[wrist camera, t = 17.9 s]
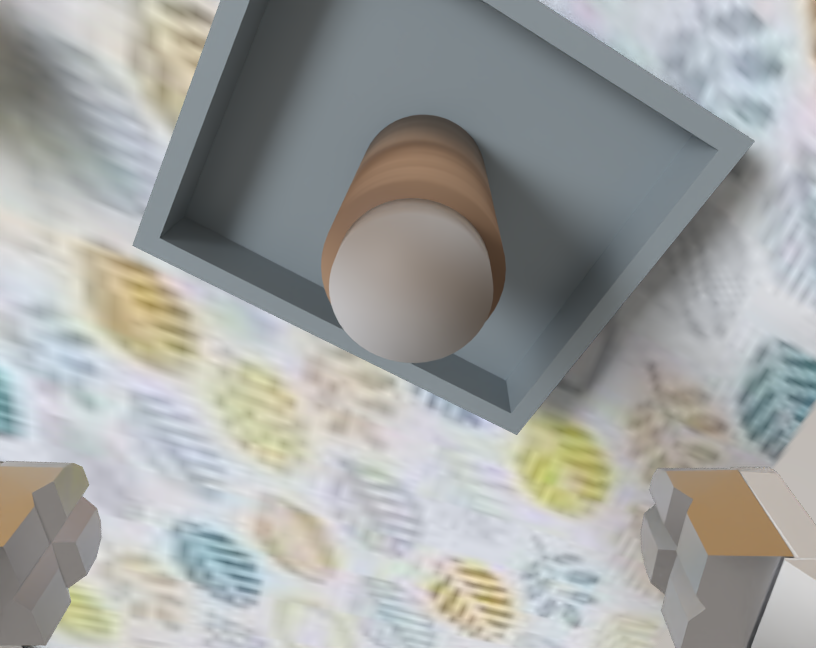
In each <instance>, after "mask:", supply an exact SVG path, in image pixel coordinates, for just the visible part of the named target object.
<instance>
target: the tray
mask: <svg viewBox="0 0 816 648" xmlns="http://www.w3.org/2000/svg"><path fill="white" fill-rule="evenodd" d="M412 115H434V116H439V117H442V118H445V119H448V120H450V121H452V122H454V123H456V124H457V125H459V126H460V127H461V128H463V129H464V130H465V131H466V132H467V133H468V134H469V135H470V136H471V137H472V138H473V140H474V141H475V143H476V144H477V146H478V148H479V150H480V151H481V154H482V157H483V160H484V164H485V169H486V173H487V178H488V182H489V187H490V191H491V196H492V200H493V205H494V209H495V214H496V218H497V223H498V227H499V232H500V236H501V241H502V245H503V250H504V255H505V262H506V275H505V283H504V288H503V292H502V294H501V297H500V300H499V302H498V304H497V306H496V308H495V310H494V311H493V313H492V314H491V315H490V317H489V318H488V320H487V321H486V322H485V323H484V325H483V327H482V328H481V330H480V331H479V332H478V334H477V335H476V336H475V337H474V338H473V339H472V340H471V341H470V342H469V343H468V344H467V345H465V346H464V347H463V348H461V349H460V350H458V351H456V352H455V353H453V354H451V355H448V356H446V357H444V358H441V359H438V360H434V361H429V362H421V363H404V362H397V361H392V360H388V359H385V358H382V357H380V356H377V355H375V354H373V353H371V352H369V351H367V350H366V349H364V348H363V347H361V346H360V345H358V344H357V343H356V342H355V341H354V340H353V339H351V337H350V336H349V335H348V334H347V333H346V332H345V331H344V329H343V328H342V326H341V325H340V324H339V322H338V320H337V318H336V316H335V314H334V311H333V308H332V305H331V303H330V301H329V299H328V297H327V294H326V291H325V289H324V285H323V280H322V272H321V259H322V252H323V247H324V243H325V240H326V237H327V235H328V232H329V230H330V228H331V226H332V224H333V222H334V219H335V217H336V215H337V213H338V211H339V209H340V207H341V204H342V202H343V200H344V198H345V196H346V194H347V192H348V189H349V187H350V185H351V183H352V181H353V179H354V177H355V174H356V172H357V170H358V168H359V166H360V164H361V162H362V159H363V157H364V155H365V153H366V151H367V149H368V147H369V145H370V143H371V142H372V141H373V139H374V138H375V137H376V136H377V134H378V133H379V132H380V131H381V130H383V129H384V128H385V127H386V126H388V125H389V124H391V123H393V122H394V121H397V120H399V119H401V118H404V117H408V116H412ZM754 142H755V141H754V140H753V139H751V138H749V137H748V136H746V135H745V134H743V133H742V132H740V131H739V130H737V129H736V128H734V127H732V126H731V125H729V124H728V123H726V122H725V121H723V120H722V119H720V118H719V117H717V116H715V115H714V114H712V113H711V112H709V111H708V110H706V109H705V108H703V107H702V106H700V105H698V104H697V103H695V102H694V101H692V100H691V99H689V98H688V97H686V96H685V95H683V94H681V93H680V92H678V91H677V90H675V89H674V88H672V87H671V86H669V85H668V84H666V83H664V82H663V81H661V80H660V79H658V78H657V77H655V76H654V75H652V74H651V73H649V72H647V71H646V70H644V69H643V68H641V67H640V66H638V65H637V64H635V63H634V62H632V61H630V60H629V59H627V58H626V57H624V56H623V55H621V54H620V53H618V52H617V51H615V50H614V49H612V48H610V47H609V46H607V45H606V44H604V43H603V42H601V41H600V40H598V39H597V38H595V37H593V36H592V35H590V34H589V33H587V32H586V31H584V30H583V29H581V28H580V27H578V26H576V25H575V24H573V23H572V22H570V21H569V20H567V19H566V18H564V17H563V16H561V15H559V14H558V13H556V12H555V11H553V10H552V9H550V8H549V7H547V6H546V5H544V4H542V3H541V2H539V1H538V0H220V3H219V6H218V9H217V12H216V14H215V17H214V20H213V23H212V26H211V28H210V31H209V34H208V37H207V39H206V42H205V45H204V48H203V51H202V53H201V56H200V59H199V62H198V65H197V67H196V70H195V73H194V76H193V78H192V81H191V84H190V87H189V90H188V92H187V95H186V98H185V101H184V104H183V106H182V109H181V112H180V115H179V117H178V120H177V123H176V126H175V129H174V131H173V134H172V137H171V140H170V143H169V145H168V148H167V151H166V154H165V156H164V159H163V162H162V165H161V168H160V170H159V173H158V176H157V179H156V182H155V184H154V187H153V190H152V193H151V195H150V198H149V201H148V204H147V207H146V209H145V212H144V215H143V218H142V220H141V223H140V226H139V229H138V232H137V234H136V237H135V240H134V243H133V246H134V247H136V248H138V249H140V250H142V251H144V252H147V253H149V254H151V255H153V256H155V257H157V258H159V259H161V260H163V261H165V262H167V263H169V264H171V265H173V266H175V267H177V268H179V269H181V270H183V271H185V272H187V273H189V274H191V275H193V276H195V277H197V278H199V279H201V280H203V281H205V282H207V283H209V284H211V285H213V286H216V287H218V288H220V289H222V290H224V291H226V292H228V293H230V294H232V295H234V296H236V297H238V298H240V299H242V300H244V301H246V302H248V303H250V304H252V305H254V306H256V307H258V308H260V309H262V310H264V311H266V312H268V313H270V314H272V315H274V316H276V317H278V318H280V319H282V320H285V321H287V322H289V323H291V324H293V325H295V326H297V327H299V328H301V329H303V330H305V331H307V332H309V333H311V334H313V335H315V336H317V337H319V338H321V339H323V340H325V341H327V342H329V343H331V344H333V345H335V346H337V347H339V348H341V349H343V350H345V351H347V352H349V353H351V354H353V355H356V356H358V357H360V358H362V359H364V360H366V361H368V362H370V363H372V364H374V365H376V366H378V367H380V368H382V369H384V370H386V371H388V372H390V373H392V374H394V375H396V376H398V377H400V378H402V379H404V380H406V381H408V382H410V383H412V384H414V385H416V386H418V387H420V388H422V389H425V390H427V391H429V392H431V393H433V394H435V395H437V396H439V397H441V398H443V399H445V400H447V401H449V402H451V403H453V404H455V405H457V406H459V407H461V408H463V409H465V410H467V411H469V412H471V413H473V414H475V415H477V416H479V417H481V418H483V419H485V420H487V421H489V422H491V423H493V424H496V425H498V426H500V427H502V428H504V429H506V430H508V431H510V432H512V433H514V434H516V435H517V434H518V433H519V432H520V430H521V429H522V428H523V427H524V425H525V424H526V423H527V422H528V420H529V419H530V418H531V417H532V416H533V414H534V413H535V412H536V411H537V409H538V408H539V407H540V406H541V404H542V403H543V402H544V401H545V400H546V398H547V397H548V396H549V395H550V393H551V392H552V391H553V390H554V388H555V387H556V386H557V385H558V383H559V382H560V381H561V380H562V379H563V377H564V376H565V375H566V374H567V372H568V371H569V370H570V369H571V367H572V366H573V365H574V364H575V362H576V361H577V360H578V359H579V358H580V356H581V355H582V354H583V353H584V351H585V350H586V349H587V348H588V346H589V345H590V344H591V343H592V341H593V340H594V339H595V338H596V337H597V335H598V334H599V333H600V332H601V330H602V329H603V328H604V327H605V325H606V324H607V323H608V322H609V321H610V319H611V318H612V317H613V316H614V314H615V313H616V312H617V311H618V309H619V308H620V307H621V306H622V304H623V303H624V302H625V301H626V300H627V298H628V297H629V296H630V295H631V293H632V292H633V291H634V290H635V288H636V287H637V286H638V285H639V283H640V282H641V281H642V280H643V279H644V277H645V276H646V275H647V274H648V272H649V271H650V270H651V269H652V267H653V266H654V265H655V264H656V263H657V261H658V260H659V259H660V258H661V256H662V255H663V254H664V253H665V251H666V250H667V249H668V248H669V246H670V245H671V244H672V243H673V242H674V240H675V239H676V238H677V237H678V235H679V234H680V233H681V232H682V230H683V229H684V228H685V227H686V225H687V224H688V223H689V222H690V221H691V219H692V218H693V217H694V216H695V214H696V213H697V212H698V211H699V209H700V208H701V207H702V206H703V205H704V203H705V202H706V201H707V200H708V198H709V197H710V196H711V195H712V193H713V192H714V191H715V190H716V188H717V187H718V186H719V185H720V184H721V182H722V181H723V180H724V179H725V177H726V176H727V175H728V174H729V172H730V171H731V170H732V169H733V167H734V166H735V165H736V164H737V163H738V161H739V160H740V159H741V158H742V156H743V155H744V154H745V153H746V151H747V150H748V149H749V148H750V146H751V145H752V144H753V143H754Z"/></svg>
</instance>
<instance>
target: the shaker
mask: <svg viewBox="0 0 816 648" xmlns="http://www.w3.org/2000/svg"><path fill="white" fill-rule="evenodd" d="M321 272H322V280H323V285H324V289H325V291H326V294H327V297H328V299H329V301H330V303H331V305H332V308H333V311H334V314H335V316H336V318H337V320H338V322H339V324H340V325H341V326H342V328H343V329H344V331H345V332H346V333H347V334H348V335H349V336H350V337H351V339H353V340H354V341H355V342H356V343H357V344H358V345H360V346H361V347H363V348H364V349H366V350H367V351H369V352H371V353H373V354H375V355H377V356H380V357H382V358H385V359H388V360H392V361H397V362H404V363H421V362H429V361H434V360H438V359H441V358H444V357H446V356H448V355H451V354H453V353H455V352H456V351H458V350H460V349H461V348H463V347H464V346H465V345H467V344H468V343H469V342H470V341H471V340H472V339H473V338H474V337H475V336H476V335H477V334H478V332H479V331H480V330H481V328H482V327H483V325H484V323H485V322H486V321H487V320H488V318H489V317H490V315H491V314H492V313H493V311H494V310H495V308H496V306H497V304H498V302H499V300H500V297H501V294H502V292H503V288H504V283H505V275H506V262H505V255H504V250H503V245H502V241H501V236H500V232H499V227H498V223H497V218H496V214H495V209H494V205H493V200H492V196H491V191H490V187H489V182H488V178H487V173H486V169H485V164H484V160H483V157H482V154H481V151H480V150H479V148H478V146H477V144H476V143H475V141H474V140H473V138H472V137H471V136H470V135H469V134H468V133H467V132H466V131H465V130H464V129H463V128H461V127H460V126H459V125H457V124H456V123H454V122H452V121H450V120H448V119H445V118H442V117H439V116H434V115H412V116H408V117H404V118H401V119H399V120H397V121H394V122H393V123H391V124H389V125H388V126H386V127H385V128H384V129H383V130H381V131H380V132H379V133H378V134H377V136H376V137H375V138H374V139H373V141H372V142H371V143H370V145H369V147H368V149H367V151H366V153H365V155H364V157H363V159H362V162H361V164H360V166H359V168H358V170H357V172H356V174H355V177H354V179H353V181H352V183H351V185H350V187H349V189H348V192H347V194H346V196H345V198H344V200H343V202H342V204H341V207H340V209H339V211H338V213H337V215H336V217H335V219H334V222H333V224H332V226H331V228H330V230H329V232H328V235H327V237H326V240H325V243H324V247H323V252H322V259H321Z"/></svg>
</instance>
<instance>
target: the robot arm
mask: <svg viewBox="0 0 816 648" xmlns="http://www.w3.org/2000/svg"><path fill="white" fill-rule="evenodd" d="M88 486H89V483H88V480H87V477H86V475H85V472H84V470H83V467H82V466H79V465H77V464H74V463H57V462H25V461H6V462H2V461H0V648H23V647H22V646H21V645H46V644H47V642H48V641H49V639H50V637H51V636H52V634H53V632H54V631H55V629H56V627H57V625H58V624H59V622H60V620H61V619H62V617H63V615H64V613H65V612H66V610H67V608H68V607H69V605H70V603H71V599H70V594H69V590H68V588H69V587H70V586H72V585H73V584H75V583H76V582H78V581H79V580H80V579H82V578H83V577H85V576H86V575H87V574H88V572H89V570H90V568H91V566H92V565H93V563H94V561H95V559H96V557H97V553H98V549H99V545H100V541H101V520H100V517H99V514H98V510H97V508H96V507H95V506H94V505H92V504H91V503H90V502H89V501H88V500H86V499H85V498H84V497H83V494H84V493H85V491H86V489H87V488H88ZM649 491H650V493H651V495H652V498H653V500H654V502H655V505H654V506H652V507H651V508H650V509H649V510H648V511H647V512H646V513H644V517H643V522H642V528H641V551H642V556H643V560H644V565H645V568H646V571H647V574H648V577H649V580H650V582H651V583H652V584H653V585H654V586H655V587H657V588H658V589H659V590H660V591H661V592H663V593H664V594H665V597H664V601H663V605H662V609H661V612H662V614H663V617H664V619H665V622H666V625H667V627H668V630H669V632H670V635H671V638H672V640H673V643H674V645H675V648H816V524H815V523H814V522H813V520H812V519H811V518H810V516H809V515H808V513H807V512H806V511H805V510H804V508H803V507H802V505H801V504H800V503H799V501H798V500H797V499H796V497H795V496H794V494H793V493H792V492H791V490H790V489H789V488H788V486H787V485H786V484H785V482H784V481H783V480H782V478H781V477H780V475H779V474H778V473H777V472H776V471H774V470H773V469H771V468H769V467H732V468H730V469H728V468H657V470H656V471H655V473H654V474H653V476H652V480H651V485H650V489H649Z"/></svg>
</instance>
